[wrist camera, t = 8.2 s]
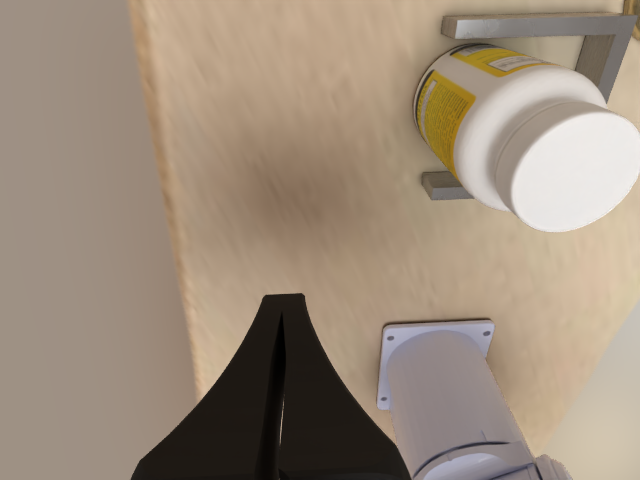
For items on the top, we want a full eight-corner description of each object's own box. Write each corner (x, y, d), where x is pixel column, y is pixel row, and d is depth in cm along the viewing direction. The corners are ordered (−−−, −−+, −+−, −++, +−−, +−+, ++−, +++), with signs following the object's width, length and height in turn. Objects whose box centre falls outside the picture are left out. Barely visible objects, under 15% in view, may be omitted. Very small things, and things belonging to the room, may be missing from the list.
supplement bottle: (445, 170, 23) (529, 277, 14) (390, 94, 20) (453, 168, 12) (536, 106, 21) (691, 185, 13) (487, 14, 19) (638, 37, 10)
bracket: (553, 178, 23) (574, 194, 22) (421, 184, 23) (431, 200, 21) (607, 11, 19) (638, 15, 17) (443, 16, 18) (457, 20, 17)
